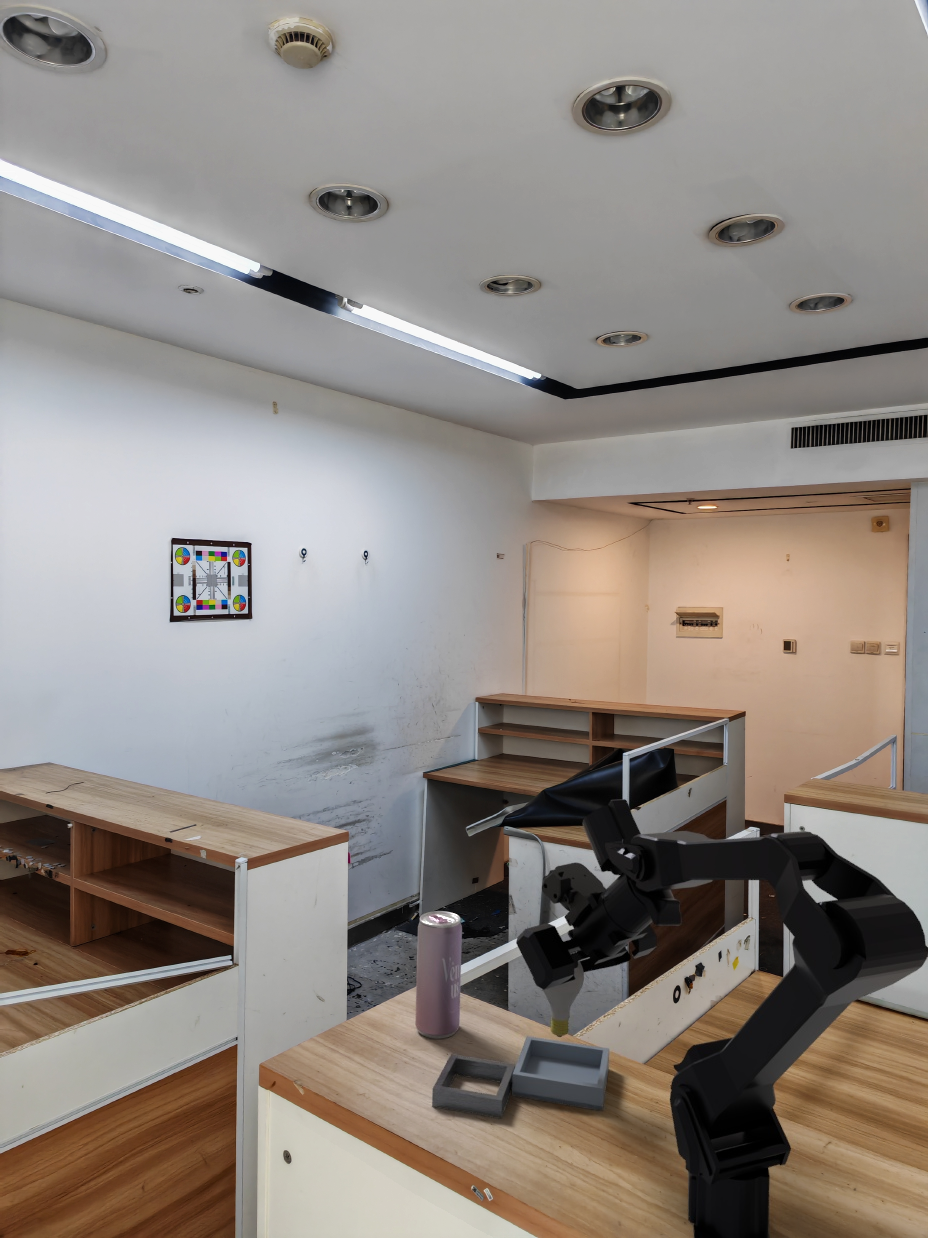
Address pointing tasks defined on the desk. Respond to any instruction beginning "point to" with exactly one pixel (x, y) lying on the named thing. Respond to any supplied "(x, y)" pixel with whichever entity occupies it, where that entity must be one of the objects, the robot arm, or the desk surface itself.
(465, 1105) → the frame
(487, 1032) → the desk surface
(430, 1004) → the beverage can
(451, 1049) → the desk surface
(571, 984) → the light bulb
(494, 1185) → the desk surface
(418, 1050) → the desk surface
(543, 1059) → the parts tray
